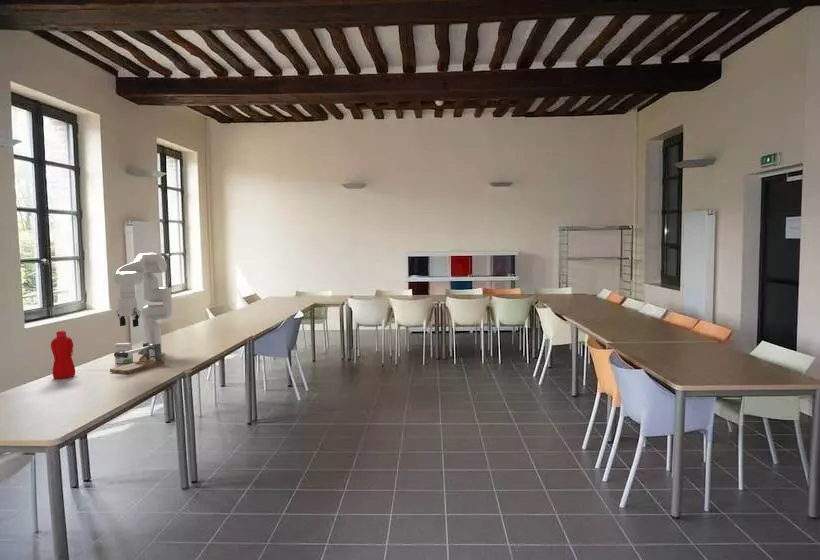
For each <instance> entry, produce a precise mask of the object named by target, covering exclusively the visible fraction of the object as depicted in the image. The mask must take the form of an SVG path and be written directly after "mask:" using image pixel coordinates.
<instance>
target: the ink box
mask: <svg viewBox="0 0 820 560" xmlns="http://www.w3.org/2000/svg"><path fill="white" fill-rule="evenodd" d="M113 348H114V349H113V351H114V353H115V352H126V351H130V350H133V343H132V342H118V343H114V344H113ZM133 354H134V353H133ZM133 354H130V355H128V357H127V358H120V357H115V356H114V363H115V365H124V364H123V363H129V364H130V363H131V362H132V363H134V355H133ZM117 363H119V364H117ZM121 363H122V364H121Z"/></svg>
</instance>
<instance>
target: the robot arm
mask: <svg viewBox="0 0 820 560" xmlns="http://www.w3.org/2000/svg"><path fill="white" fill-rule="evenodd" d="M167 269H168V264H167V261H166V260H165V258H164V257H163V256H162V255H161V254H160V253H158V252H157V253H156V252H144V253H143V252H142V253H139V254H137V255H136V256H135V257H134V259H133V261H132V262H130V263H127V264H125V265H122V266H121V267H119V268H118V269H117V270H116V271H115V274H114V277H113V280H114V281H113V282H114V284H115V285H117V286H119V287H118V288H119V299H118V305H117V308H118V309H117V310H116V314H117V317H118V320H119V326H120V327H124V326H126V325H127V322H126V317H131V318H132V327H133V328H136V327H139V325H140V324H139V319H140V317H141V318H142V321H143V333H144V343H149V344H157V343H160V345H161V356H163V355H165V354H166V353H165V352H166V351H164V350H163V348H162V346H163V345H162V331H161V325H160V323H159V322H158V321H159V320H160V321H161V320H169V319H171V318H172V315H173V314H172V313H173V310H172V309H173V306H172V304H173V302H172V301H173V300H172V299H173V298H172V291H171V289H170V287H166V286H162V287H161V286H159V278H158V277H157V275H156V274H163V273H165V272H166V271H167ZM141 283H143V299H144V301H145V302H146V303H148V304H147V305H144V306H143V307H142V308H141V309H138V303H137V298H136V287H135V286H138V285H140V284H141ZM149 303H150V304H149ZM151 303H152V304H151ZM153 303H162V304H153ZM157 320H158V321H157ZM149 353H150V357H155V350H150V349H149Z"/></svg>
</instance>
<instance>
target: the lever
mask: <svg viewBox="0 0 820 560" xmlns="http://www.w3.org/2000/svg"><path fill="white" fill-rule="evenodd" d="M149 349H150V350H155V346H154V344H146V346H145V347H143V346H142V347H139V348H135V349H132V350H130V351H126V352H115V351H114V353H113V356H114V358H115V357H120V358H127V357H128V355H130V354H137V353H138V355H142V356H143V355H144V354H147V350H149Z"/></svg>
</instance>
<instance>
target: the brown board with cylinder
mask: <svg viewBox="0 0 820 560" xmlns="http://www.w3.org/2000/svg"><path fill="white" fill-rule="evenodd" d="M146 344H149V343H145V342H143V343H142V347H145V346H146ZM161 345H162V344H161ZM161 345H160V343H157V344H154V346H155V356H154V358H153V359H151V358H150V357H151V356H150V353H149V350H147V354H144V355H142V356H145V357H146V358H147V361H145V362H140V361H139V360H136V361H133V362H132V363H129V364H122V365H120V366H117V367H116V366H115V367H113V368H110V369H109V373H110V372H112V373H111V374H119V373H122V375H131V374H134V372H135V373H137V371H138V372H140V371H141V372H142V371H144V370H148V369H151V368H153V367H158V366H161V365H164V364H165V360H164V359H162V355H161ZM130 373H131V374H130Z"/></svg>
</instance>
